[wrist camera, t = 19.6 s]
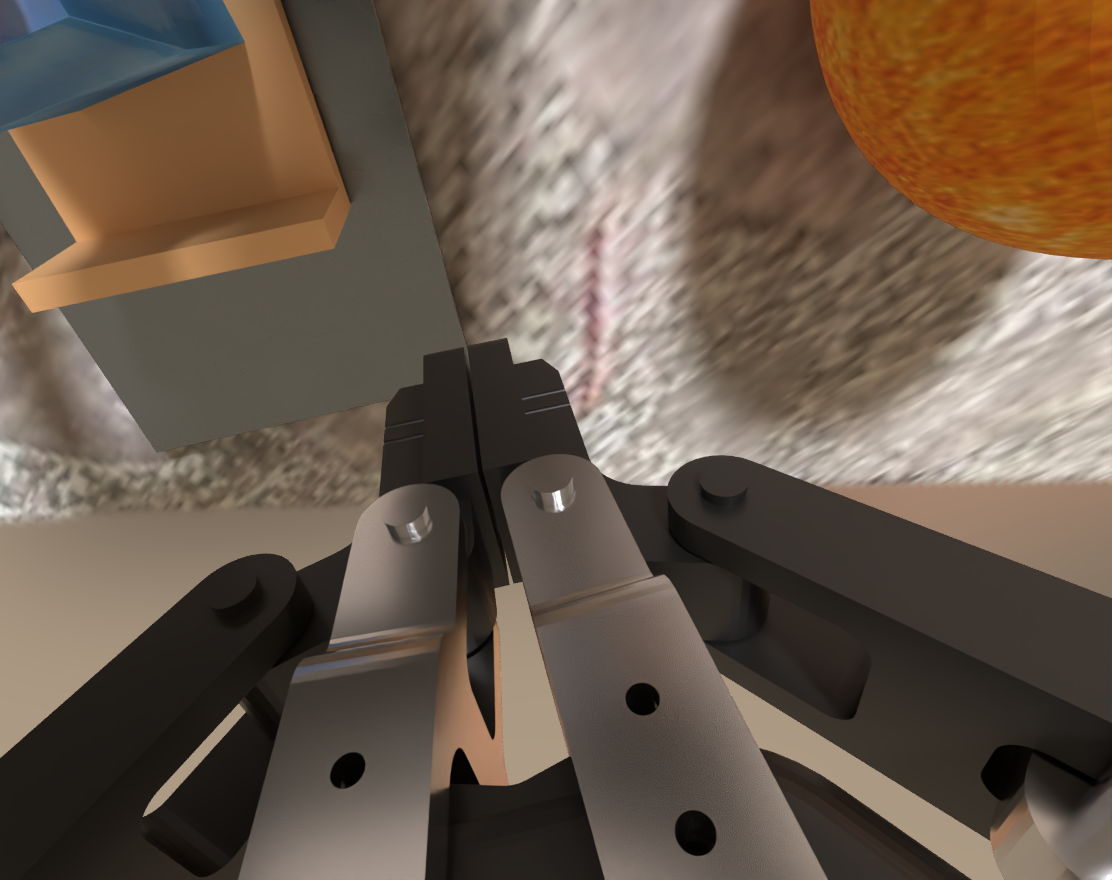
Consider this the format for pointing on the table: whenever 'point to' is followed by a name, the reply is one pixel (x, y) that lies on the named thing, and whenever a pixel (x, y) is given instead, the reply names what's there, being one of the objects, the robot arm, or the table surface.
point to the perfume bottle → (98, 50)
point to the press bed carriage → (189, 172)
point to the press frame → (279, 274)
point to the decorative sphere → (982, 111)
